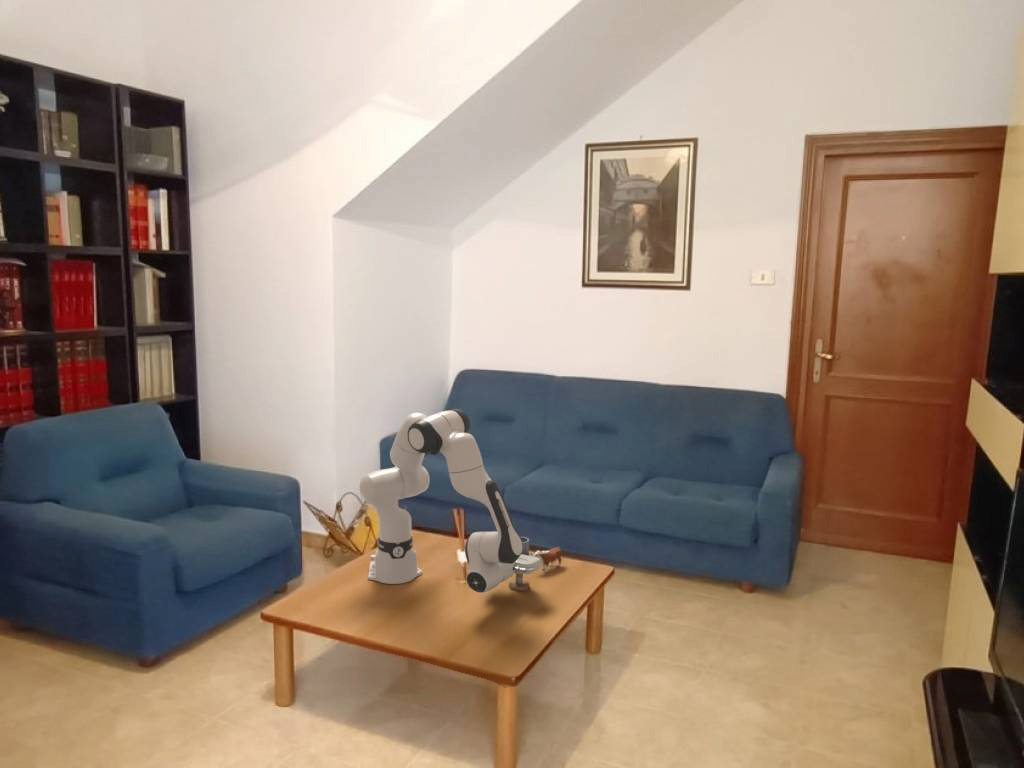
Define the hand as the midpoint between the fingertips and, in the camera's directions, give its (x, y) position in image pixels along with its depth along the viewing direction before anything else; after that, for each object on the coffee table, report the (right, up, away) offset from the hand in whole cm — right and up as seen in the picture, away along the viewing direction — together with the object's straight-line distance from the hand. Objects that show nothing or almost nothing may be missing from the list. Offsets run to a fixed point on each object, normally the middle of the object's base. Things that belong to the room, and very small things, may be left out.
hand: (521, 553), depth 262 cm
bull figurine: (+10, -10, +17) cm, 22 cm away
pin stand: (-1, -12, +1) cm, 12 cm away
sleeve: (-1, -6, 0) cm, 6 cm away
